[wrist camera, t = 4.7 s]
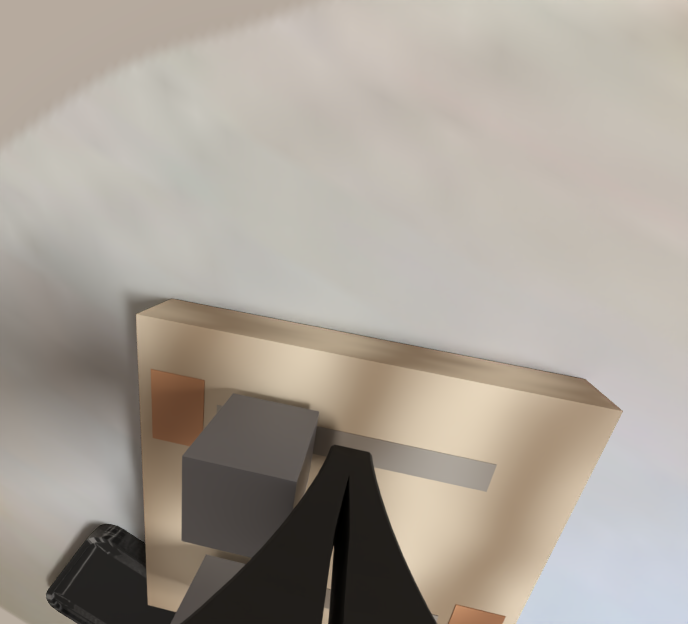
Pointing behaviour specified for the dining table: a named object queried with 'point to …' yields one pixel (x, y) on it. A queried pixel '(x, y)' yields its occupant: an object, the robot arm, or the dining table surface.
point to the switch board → (380, 446)
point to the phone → (107, 582)
